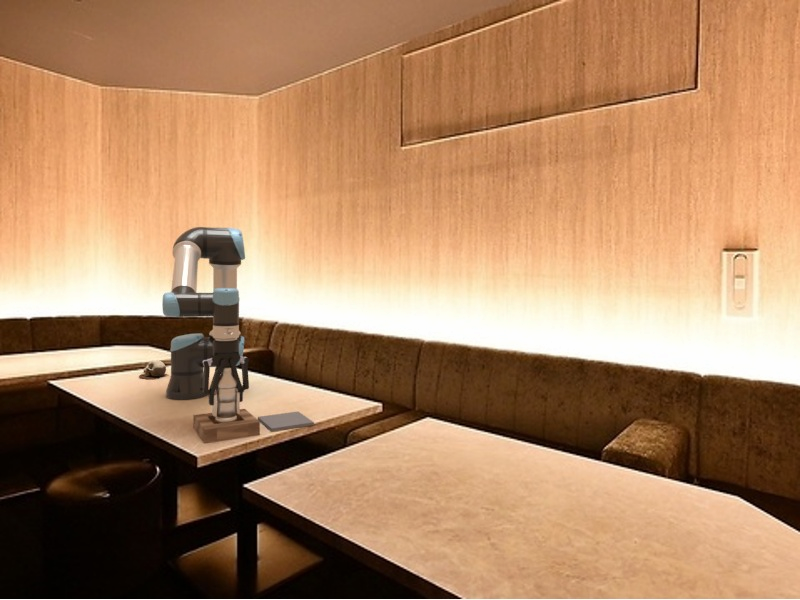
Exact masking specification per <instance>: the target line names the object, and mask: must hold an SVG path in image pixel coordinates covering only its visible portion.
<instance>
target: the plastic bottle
mask: <svg viewBox="0 0 800 600" xmlns="http://www.w3.org/2000/svg"><path fill="white" fill-rule="evenodd" d="M232 373H233V371H232V367H229V368H223V370H222V373H221V374H220V377H219V381H218V384H217V387H216V390H215V394H216V395H217V416H216V418H215V424H220V423H228V422H235V421H237V416H236V408H235V400H236V391H238V390H237V381H236V379H235V377H234V376H233V375H232Z"/></svg>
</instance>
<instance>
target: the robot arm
mask: <svg viewBox="0 0 800 600" xmlns="http://www.w3.org/2000/svg"><path fill="white" fill-rule="evenodd" d="M245 251H246V250H245V244H244V237H243V233H242V231H241V230H240V229H239V228H232V227H207V226H206V227H205V226H198V227H197V226H196V227H192V228H189V229H188V230H186V231H184V232H183V233H182V234H180V235H179V236H178V238H177V239H176V240H175V242H174V243H173V247H172V256H173V259H174V261H173V262H174V263H173V273H172V280H171V282H172V283H171V290H170V292H164V293H163V295H162V313H163V315H164V316H165V317H170V318H171V317H172V318H183V317H184V318H189V317H190V318H191V317H192V318H193V317H212V330H210V331H209V333H208V334H209V335H208V336H209V337H206V336H205V335H204V334H203V333H201V332H200V333H199V332H198V333H189V334H184V335H182V334H181V335H179V336H175V337H174V338H172V340H171V342H170V350H169V351H170V377H169V381H168V383H167V386H166V390H165V396H166V398H168V399H171V400H192V399H200V398H203V397H206V396H208V404H209V406H211V407H212V408H211V409H212V411H211V413H212V415H213V416H214V417H216V416H217V395H216V387H217V384H218V381H219V377H220V375H221V373H222V370H223V368H229V367H232V371H233V373H232V375H233V376H234V377H235V379H236V381H237V391H236V400H235V408H236V413H237V414H239V413H240V409H241V408H240V405H241V403H242V402H243V399H244V396H243V395H244V394H243V393H244V392H245V391H246V390H249V388H250V384H249V383H250V382H249V369H248V368H249V363H250V358H249V357H247V356H243V355H244V349H245V347H244V346H245V336H242V335H241V334H242V333H241V331H240V325H239V324H240V322H239V321H240V319H239V318H240V293H239V290H238V288H237V287H238V268H239V267H241V265H242V261H243V260H246V253H245ZM200 259H204V260H205V259H207V260H208V264H209V266H211V267H212V268H213V269H212V270H213V273H212V275H213V278H212V279H213V281H212V282H213V284H212V285H213V286H212V287H213V291H212V292H197V290H198V289H197V287H198V266H199V261H200ZM240 365H241V376H242V379H240V376H239V373H238V368H237V366H240ZM210 368H214V373H213V376H212V380H211V382H210V370H211V369H210ZM241 380H242V382H241ZM209 383H210V384H209Z"/></svg>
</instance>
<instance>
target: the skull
mask: <svg viewBox="0 0 800 600" xmlns="http://www.w3.org/2000/svg"><path fill="white" fill-rule="evenodd" d="M166 371H167V366H166V365H165V363H164V362H163V361H161V360H159V359H152V360H151V361H149V363H148V364H147V365H146V367H144V368H143V372H141V374H139V378H140V379H143V380H144V379H145V380H160V379H161V378H165V377H169V376H170V375H169V374H168V373H166Z"/></svg>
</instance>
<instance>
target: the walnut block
mask: <svg viewBox="0 0 800 600" xmlns="http://www.w3.org/2000/svg"><path fill="white" fill-rule="evenodd" d="M236 416H237V421H235V422H228V423H220V424H215V418H216V417H214V416H213V415H212V412H207V413H200V414H193V418H192V420H193V424H192V425H193V426H192V427H193V429H194V431H195V432H196V434H197V435H198V436H199V438H201V440H202V441H203V443H204V444H208V443H214V442H220V441H226V440H233V439H240V438H245V437H246V438H247V437H253V436H259V435H261V434H260V431H261V429H260V428H261V427H260V426H261V422H260V421H259V420H258V418H256V417H255V416H254V415H253V414H252V413H251V412H250V411H248V410H247V409H246V408H240V413H239V414H237V413H236Z"/></svg>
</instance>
